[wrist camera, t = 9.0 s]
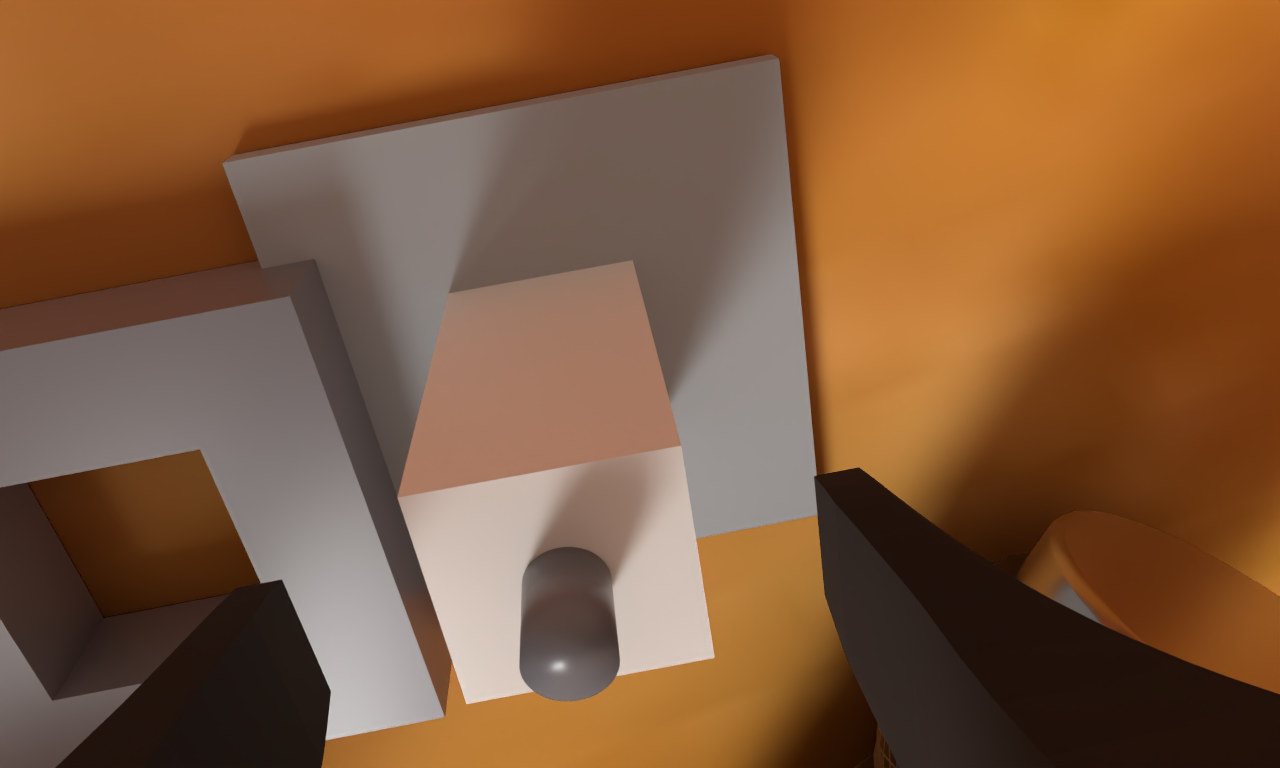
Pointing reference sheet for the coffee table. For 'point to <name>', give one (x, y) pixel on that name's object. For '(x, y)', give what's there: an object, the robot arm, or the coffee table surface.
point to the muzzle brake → (1150, 598)
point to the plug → (553, 491)
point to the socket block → (245, 476)
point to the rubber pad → (575, 254)
